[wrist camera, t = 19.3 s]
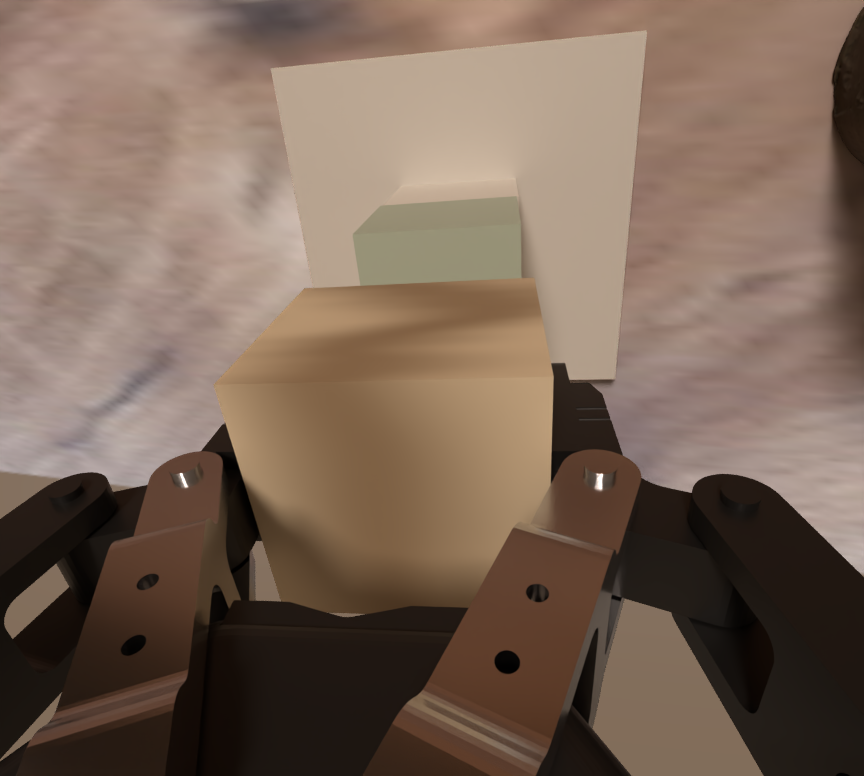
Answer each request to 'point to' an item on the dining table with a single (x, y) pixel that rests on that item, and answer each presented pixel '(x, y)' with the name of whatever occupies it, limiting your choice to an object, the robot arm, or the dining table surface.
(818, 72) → the dining table surface
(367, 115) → the baseplate
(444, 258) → the sage block
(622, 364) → the dining table surface
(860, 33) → the pillar candle
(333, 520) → the maple block
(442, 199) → the beige block
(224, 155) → the dining table surface
